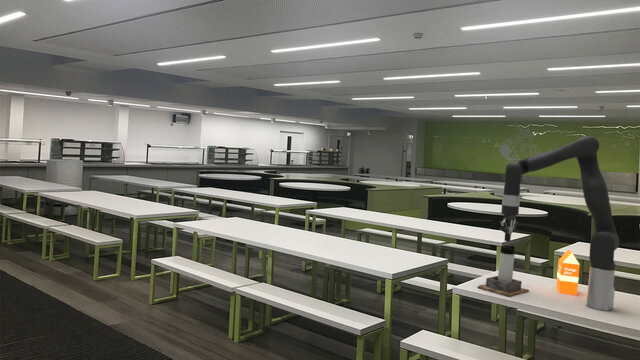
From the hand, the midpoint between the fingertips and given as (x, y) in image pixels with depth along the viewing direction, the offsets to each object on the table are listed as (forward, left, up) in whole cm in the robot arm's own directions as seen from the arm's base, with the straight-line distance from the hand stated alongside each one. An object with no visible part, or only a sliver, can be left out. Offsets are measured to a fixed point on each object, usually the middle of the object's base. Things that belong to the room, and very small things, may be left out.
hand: (507, 241), depth 220 cm
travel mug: (0, -1, -23) cm, 23 cm away
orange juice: (-17, -28, -24) cm, 40 cm away
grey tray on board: (0, 0, -23) cm, 23 cm away
